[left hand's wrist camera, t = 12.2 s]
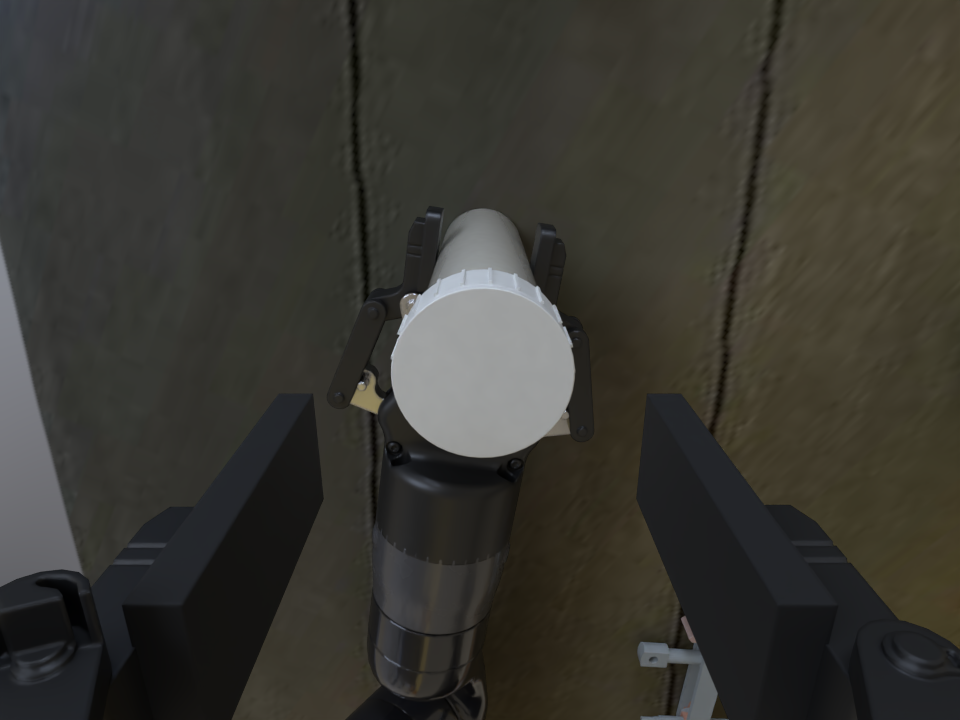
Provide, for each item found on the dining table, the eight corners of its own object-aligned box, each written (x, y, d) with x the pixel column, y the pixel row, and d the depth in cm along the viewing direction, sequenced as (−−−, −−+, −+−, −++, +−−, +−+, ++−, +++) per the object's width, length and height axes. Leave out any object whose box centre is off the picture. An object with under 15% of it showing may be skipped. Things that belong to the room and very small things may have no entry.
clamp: (653, 619, 43) (797, 628, 43) (645, 596, 45) (782, 604, 45) (619, 773, 48) (748, 780, 48) (613, 746, 50) (737, 753, 51)
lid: (468, 229, 19) (467, 244, 17) (602, 337, 20) (617, 363, 18) (365, 361, 20) (351, 390, 18) (495, 454, 22) (496, 491, 19)
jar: (476, 191, 35) (470, 263, 17) (537, 242, 36) (592, 360, 18) (427, 254, 36) (374, 382, 19) (488, 302, 37) (494, 466, 20)
